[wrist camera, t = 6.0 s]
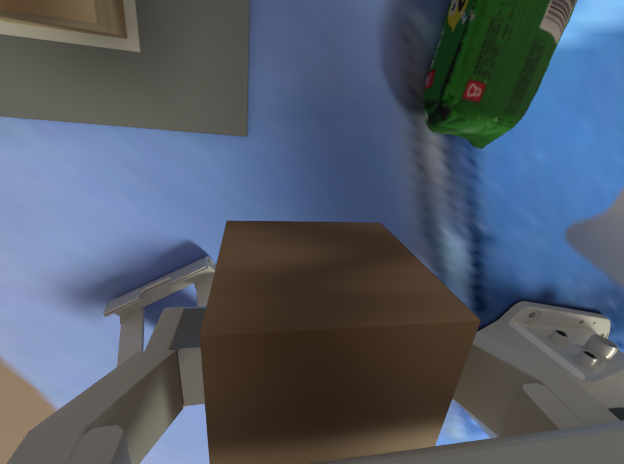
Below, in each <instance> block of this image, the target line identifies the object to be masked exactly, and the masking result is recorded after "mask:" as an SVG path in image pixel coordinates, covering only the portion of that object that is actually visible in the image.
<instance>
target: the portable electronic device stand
mask: <svg viewBox="0 0 624 464" xmlns="http://www.w3.org/2000/svg"><path fill="white" fill-rule="evenodd" d="M215 269H216V265H215V263H214V262H213V260H212V259H211V258H210V257H209V256H206V257H204V258H202V259H200V260H198V261H195V262H193V263H191V264H189V265H187V266H185V267H182V268H180V269H178V270H176V271H174V272H172V273H170V274H167V275H165V276H163V277H161V278H159V279H157V280H154V281H152V282H150V283H148V284H146V285H144V286H142V287H139V288H137V289H135V290H133V291H131V292H129V293H126V294H124V295H122V296H120V297H118V298H116V299H114V300H111V301H109V302H108V303H107V305H106V307H105V310H104V312H103V314H104V316H109V315H111V314H113V313H115V314H117V315H119V316H120V323H121V330H120V341H119V352H118V363H117V367H118V366H119V365H121V364H122V363H124V362H125V361H126V360H128V359H129V358H130V357H132V356H133V355H135V354H136V353H137V352H143V348H144V320H145V307H146V306H147V305H149V304H151V303H153V302H156V301H158V300H160V299H162V298H164V297H166V296H168V295H171V294H173V293H175V292H177V291H179V290H181V289H184V288H186V287H188V286H190V285H192V284H195V288H196V291H197V302H198V306H207V302H208V298H209V294H210V290H211V285H212V281H213V277H214V273H215ZM184 407H186V406H183V408H184Z"/></svg>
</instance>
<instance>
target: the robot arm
mask: <svg viewBox="0 0 624 464" xmlns="http://www.w3.org/2000/svg"><path fill="white" fill-rule="evenodd" d="M206 307H207V306H192V307H166V308H165V309H164V310H163V311H162V313H161V315H160V318H159V320H158V322H157V324H156V327H155V329H154V331H153V333H152V336H151V338H150V340H149V342H148V344H147V347H146V349H145V351H144V352H137V353H136V354H135V355H133V356H132V357H130V358H129V359H128V360H126V361H125V362H124V363H122V364H121V365H119V366H118V367H117V368H115V369H114V370H113V371H111V372H110V373H108V374H107V375H106V376H104V377H103V378H102V379H100V380H99V381H98V382H96V383H95V384H93V385H92V386H91V387H89V388H88V389H87V390H85V391H84V392H82V393H81V394H80V395H78V396H77V397H76V398H74V399H73V400H71V401H70V402H69V403H67V404H66V405H65V406H63V407H62V408H61V409H59V410H58V411H56V412H55V413H54V414H52V415H51V416H50V417H49V418H47V419H46V420H44V421H43V422H41V423H40V424H39V425H37V426H36V427H34V428H33V429H32V430H30V431H29V432H28V433H27V435H26V436H25V438H24V439H23V441H22V442H21V443H20V445H19V446H18V448H17V449H16V451H15V452H14V454H13V455H12V457H11V458H10V459H9V461H8V462H7V464H139V463H140V462H141V461H142V460H143V458H144V457H145V456H146V455H147V453H148V452H149V451H150V450H151V448H152V447H153V446H154V445H155V443H156V442H157V441H158V440H159V438H160V437H161V436H162V434H163V433H164V432H165V431H166V429H167V428H168V427H169V426H170V424H171V423H172V422H173V421H174V419H175V418H176V417H177V416H178V414H179V413H180V412H181V411H182V409H183V406H189V405H197V404H205V398H204V386H203V373H202V361H201V348H200V332H201V328H202V323H203V319H204V315H205V311H206ZM609 332H610V320H609V319H607V318H606V317H605V316H603V315H601V314H597V313H591V312H586V311H580V310H574V309H568V308H562V307H557V306H551V305H545V304H539V303H533V302H528V301H521V302H519V303H517V304H515V305H514V306H513V307H511V308H510V309H509V310H508V311H507V312H506V313H505V314H504V315H503V316H502V317H501V318H500V319H498V320H497V321H495V322H494V323H492V324H490V325H488V326H487V327H485V328H483V329H481V330H480V331H477V333H476V335H475V338H474V341H473V344H472V346H471V349H470V352H469V354H468V357H467V360H466V363H465V365H464V368H463V371H462V374H461V376H460V379H459V382H458V384H457V387H456V390H455V393H454V395H453V398H452V399H453V400H454V401H455V402H456V403H457V404H459V405H460V406H461V407H462V408H463V409H464V410H465V411H466V412H467V414H468V415H469V416H470V417H471V418H472V419H473V420H474V421H475V422H476V423H477V424H478V425H479V426H480V427H481V428H482V429H483V430H484V432H485V433H486V434H487V435H488V436H489V437H490V438H491V439H484V440H477V441H470V442H463V443H456V444H449V445H441V446H434V447H427V448H420V449H412V450H405V451H398V452H391V453H383V454H376V455H369V456H361V457H354V458H347V459H339V460H332V461H325V462H317V463H310V464H624V353H622V352H621V351H620V350H618V346H617V345H616V344H615V343H614V342H612V341H610V340H609V339H608V336H609Z"/></svg>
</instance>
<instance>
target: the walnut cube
mask: <svg viewBox="0 0 624 464" xmlns="http://www.w3.org/2000/svg"><path fill="white" fill-rule="evenodd" d="M480 322H481V320H480V319H479V318H478V317H477V316H476V315H475V314H474V313H473V312H472V311H471V310H470V309H469V308H468V307H467V306H465V305H464V304H463V303H462V302H461V301H460V300H459V299H458V298H457V297H456V296H455V295H454V294H453V293H452V292H451V291H450V290H449V289H448V288H447V287H446V286H445V285H444V284H443V283H442V282H441V281H440V280H439V279H438V278H437V277H436V276H435V275H434V274H433V273H432V272H431V271H429V270H428V269H427V268H426V267H425V266H424V265H423V264H422V263H421V262H420V261H419V260H418V259H417V258H416V257H415V256H414V255H413V254H412V253H411V252H410V251H409V250H408V249H407V248H406V247H405V246H404V245H403V244H402V243H401V242H400V241H399V240H398V239H397V238H396V237H395V236H393V235H392V234H391V233H390V232H389V231H388V230H387V229H386V228H385V227H384V226H383V225H382V224H381V223H357V222H285V221H227V222H226V226H225V231H224V235H223V239H222V243H221V248H220V252H219V256H218V260H217V264H216V269H215V273H214V277H213V281H212V285H211V290H210V294H209V298H208V302H207V307H206V311H205V315H204V319H203V323H202V328H201V332H200V348H201V361H202V373H203V386H204V398H205V411H206V423H207V435H208V448H209V460H210V464H310V463H317V462H325V461H332V460H339V459H347V458H354V457H361V456H369V455H376V454H383V453H391V452H398V451H405V450H412V449H420V448H427V447H434V446H435V444H436V441H437V439H438V436H439V433H440V431H441V428H442V425H443V422H444V420H445V417H446V414H447V412H448V409H449V406H450V403H451V401H452V398H453V395H454V393H455V390H456V387H457V384H458V382H459V379H460V376H461V374H462V371H463V368H464V365H465V363H466V360H467V357H468V354H469V352H470V349H471V346H472V344H473V341H474V338H475V335H476V333H477V330H478V327H479V325H480Z"/></svg>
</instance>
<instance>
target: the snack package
mask: <svg viewBox="0 0 624 464" xmlns="http://www.w3.org/2000/svg"><path fill="white" fill-rule="evenodd" d="M576 2H577V0H451V2H450V5H449V8H448V11H447V15H446V18H445V21H444V24H443V27H442V30H441V34H440V37H439V41H438V44H437V47H436V50H435V53H434V57H433V60H432V63H431V66H430V69H429V72H428V76H427V79H426V82H425V89H424V99H423V105H424V110H425V118H426V124H427V126H428V128H429V129H430V130H431V131H432V132H436V133H445V134H451V135H455V136H460V137H462V138H464V139H467V140H468V141H469V143H470V144H471V145H472V146H474V147H476V148H480V149H482V148H484V147H485V146H486V145H487V144H489V143H490V142H492V141H494V140H495V139H497V138H498V137H500V136H501V135H503V134H504V133H506V132H507V131H509V130H510V129H512V128H513V127H514V126H515V125H516V124H517V123H518V122H519V121H520V120H521V118H522V117H523V116H524V114H525V113H526V111H527V109H528V107H529V105H530V103H531V101H532V100H533V98H534V96H535V94H536V92H537V91H538V88H539V86H540V84H541V81H542V79H543V76H544V74H545V72H546V70H547V68H548V65H549V62H550V60H551V57H552V55H553V53H554V51H555V49H556V47H557V45H558V42H559V40H560V38H561V36H562V34H563V32H564V30H565V28H566V26H567V24H568V22H569V20H570V17H571V15H572V12H573V10H574V7H575V5H576Z"/></svg>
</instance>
